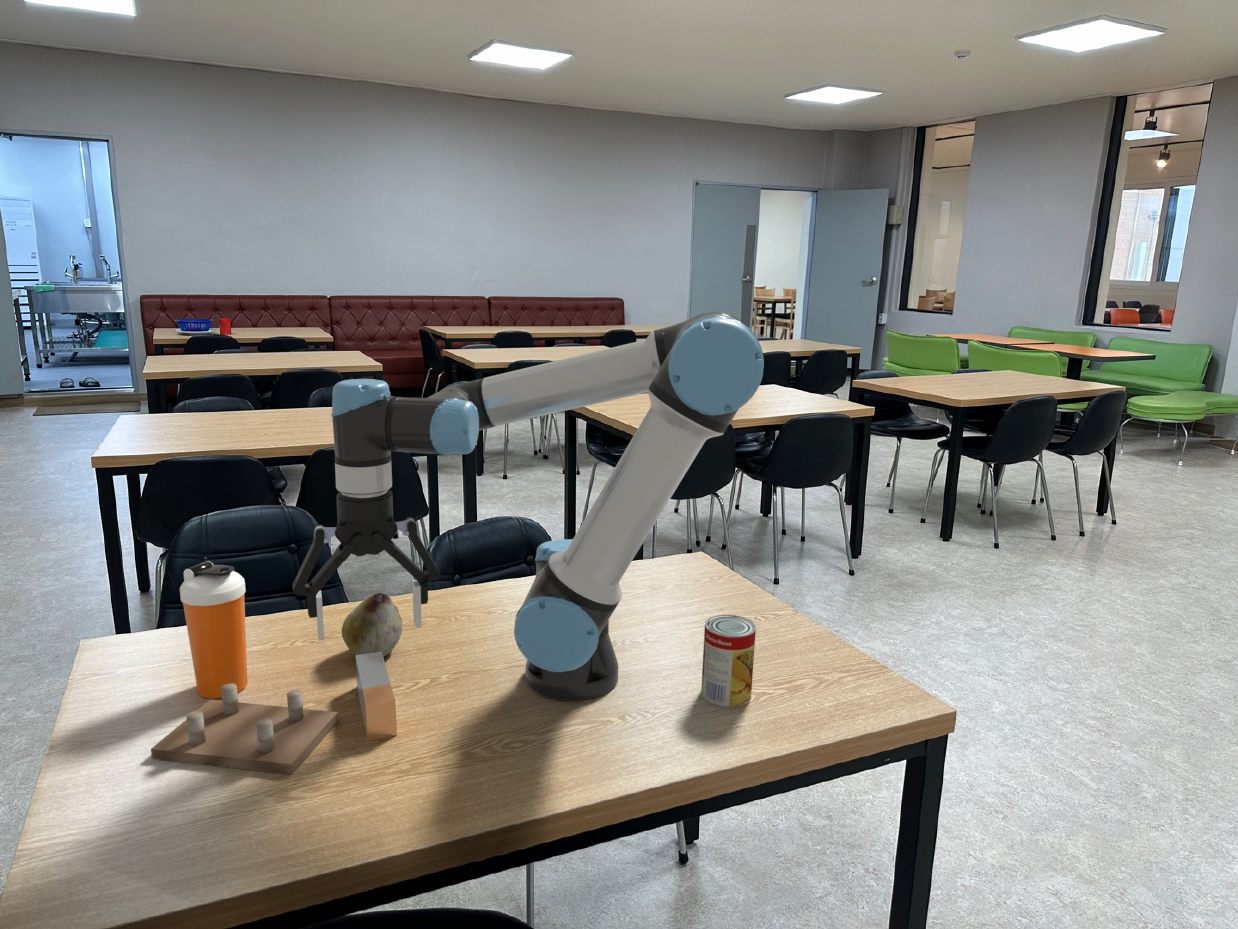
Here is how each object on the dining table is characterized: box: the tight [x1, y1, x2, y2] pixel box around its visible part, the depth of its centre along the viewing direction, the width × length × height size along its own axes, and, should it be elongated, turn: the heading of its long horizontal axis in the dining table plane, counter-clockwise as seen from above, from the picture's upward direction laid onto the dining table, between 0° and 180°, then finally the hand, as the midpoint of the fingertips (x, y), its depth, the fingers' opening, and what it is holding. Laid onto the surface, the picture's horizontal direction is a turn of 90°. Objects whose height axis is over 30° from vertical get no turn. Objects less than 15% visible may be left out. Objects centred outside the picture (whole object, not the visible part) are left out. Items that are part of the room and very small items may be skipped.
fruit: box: [341, 592, 404, 658], centre depth 140 cm, size 10×9×12 cm
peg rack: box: [150, 683, 339, 775], centre depth 115 cm, size 20×13×6 cm, turn 82°
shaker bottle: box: [179, 560, 248, 700], centre depth 127 cm, size 9×9×20 cm
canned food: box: [700, 614, 757, 709], centre depth 130 cm, size 8×8×12 cm
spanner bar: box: [354, 651, 398, 742], centre depth 123 cm, size 16×4×6 cm, turn 22°
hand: (370, 630), depth 121 cm, fingers open, 13 cm apart
